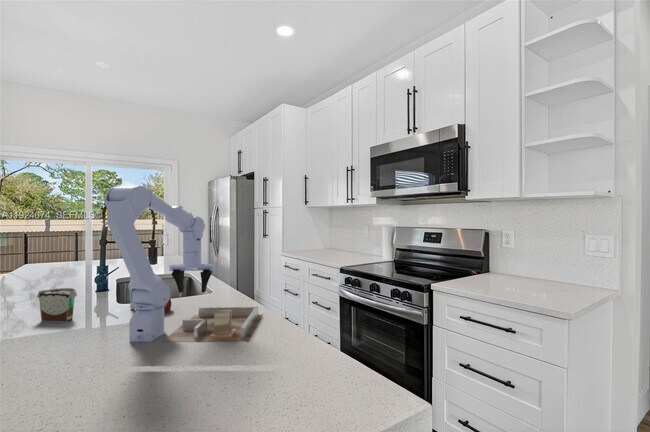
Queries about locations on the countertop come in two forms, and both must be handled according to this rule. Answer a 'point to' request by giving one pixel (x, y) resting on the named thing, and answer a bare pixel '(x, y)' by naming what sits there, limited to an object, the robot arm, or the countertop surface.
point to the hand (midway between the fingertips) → (192, 292)
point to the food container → (57, 304)
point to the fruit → (167, 306)
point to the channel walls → (201, 324)
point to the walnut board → (237, 323)
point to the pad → (224, 335)
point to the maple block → (223, 322)
